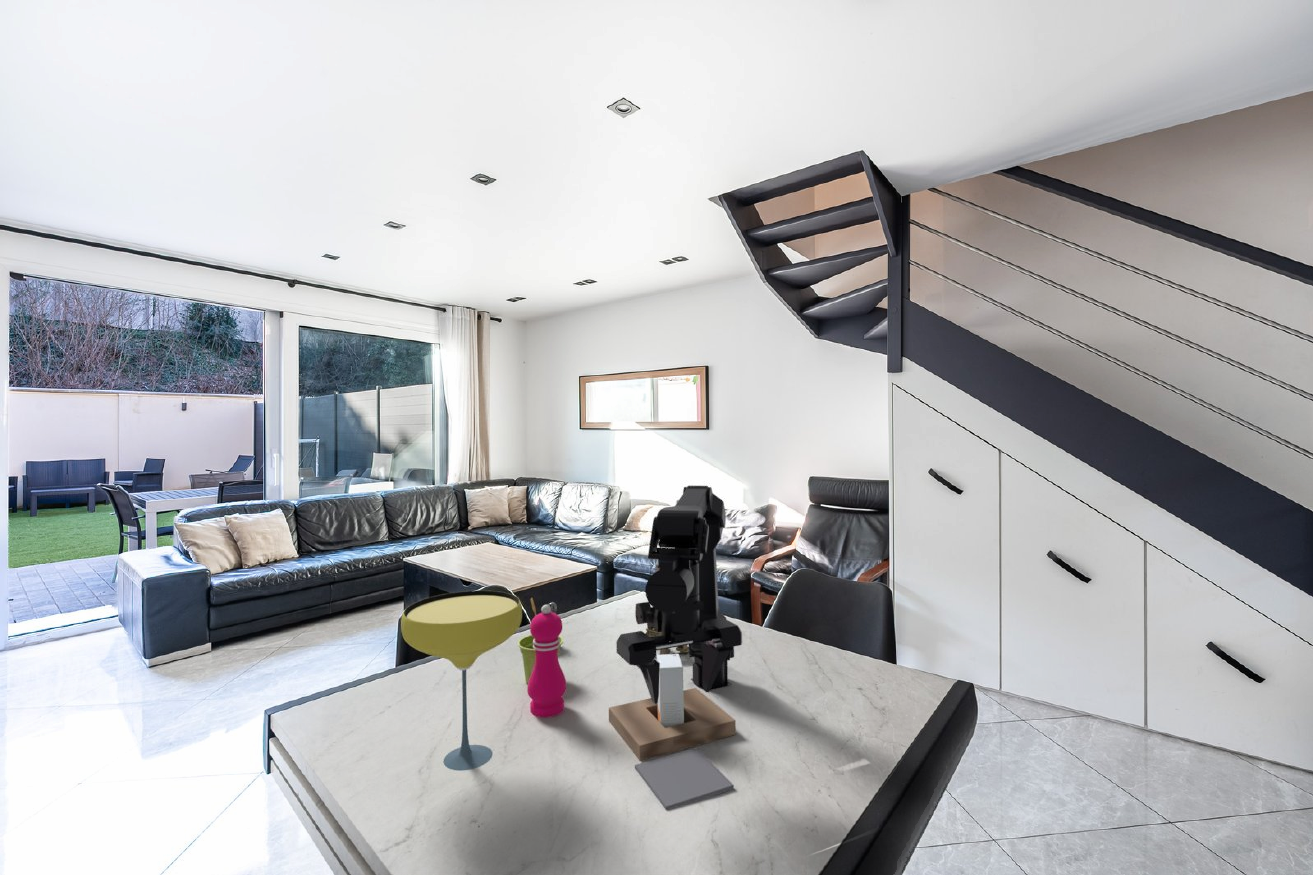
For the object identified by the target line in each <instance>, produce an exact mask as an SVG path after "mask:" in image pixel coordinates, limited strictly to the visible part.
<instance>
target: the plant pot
mask: <svg viewBox="0 0 1313 875" xmlns="http://www.w3.org/2000/svg"><path fill="white" fill-rule="evenodd" d="M558 637H559V638H560V641H559V643H560V646H559V647H558V651H557V654H558V658H559V657H560V651H561V648H562V645H563V643H564V638H563V637H562V636H561V635H559V636H558ZM534 639H535V638H534V637H533V636H532V635H531V634H530V635H527V636H524V637H522V638H520V639H519V640H518V642H517V646H518V647H519V649H520V653H521V655H522V656H521V657H522V661H523V662H522V663H523V668H524V669H523V670H524V677H525V684H527V685H528V682H529V678H530V676H531V674H532V671H533V669H534V666H535V660H536V652H535V649H534V648H533V645H534V643H533V640H534Z"/></svg>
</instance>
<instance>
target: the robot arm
mask: <svg viewBox="0 0 1313 875" xmlns="http://www.w3.org/2000/svg"><path fill="white" fill-rule="evenodd" d="M726 514H727V513H726V508H725V502H724V500H722V499H721V498H720V497H718V496H717V495H716V494H715V493H713V489H712V486H709V485H686V486H684V487H683V490H682V495H681V496H680V498H679V499H678V501H677V502H676V503H675V505H674V506H666V507H663V508H661V509H659V510H658V513H657V514H656V515H657V516H654V517H653V520H652V521H653V522H652V528H651V534H650V540H649V548H648V554H647V559H649V560H658V562H657V564H658V569H657V570H656V569H655V571H654V572H653V573H652V574H651V575H650V576H649V578H648V580H647V581H646V584H645V590H644V593H645V597H646V600H647V601H645V602H638V603H635V611H634V612H635V613H634V615H635V622H636V624H637V625H643V624H646V626H647V627H646V629H647V628H648V629H652V628H654V630H655V631H656V632H661V633H662V636H656V637H649V636H648V635H646V634H645V633H646V632H643V630H638V631H631V632H628V633H620V635H619V637H618V638H617V640H616V642H615V643H616V654H618V655H619V656H620V657H621V658H622V659H623V660H624V661H625V662H626V663H627V664H628V665H629V666H636V667H637V668H638V669H640V671H641V674H642V676H643V678H644V682H645V685H646V687H647V689H648V693H649V696H650V698H651V699H652V701H653V703H654V704H657V703H658V697H659V673H660V663H659V662H658V661H657V659H655V658H657V651H660V650H662V649H673V648H676V647H679V646H684V645H687V646H688V647H689V651H688V653H689V654H688V655H689V658H693V659H694V660H693V662H692V678H690V680H691V681H692V683H693V684H694V685H696V686H697V687H698V688H701V689H702V691H704V692H705V693H709V692H710V691H712V690H717V689H721V688H726V687H730V686H732V683H731V682H729V676H728V674H729V673H728V672H729V670H728V668H729V667H728V661H730V660H731V659H732V658H735V647H738V646H742V644H743V632H742V630H741V627H740V626H739V625H738V624H735V623H734V622H732V621H730V620H728V619H727V617H726V616H725V615H724V614H723V612H722V611H721V609H720V607H719V592H718V591H719V589H718V587H719V586H718V573H717V572H718V570H717V548H716V547H717V546H718V544H719V542H720V541H721V538H722V535H723V530H724V529H725V528H726V523H727V522H726V520H727V519H726Z"/></svg>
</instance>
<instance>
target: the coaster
mask: <svg viewBox="0 0 1313 875" xmlns="http://www.w3.org/2000/svg"><path fill="white" fill-rule="evenodd" d="M634 770H636V772H637V773H638V774H639V776H640V777H641V778H642V780H643V781H644V783H645V784H646V785H647V787H648V788H649V789H650V791H651V792H652V793H653V795H654V796H655V797H656V799H657V800H658V801H659V803H660V804H661V806H662V807H663V808H664V810H665V811H667V810H670V809H673V807H674V808H677V807H680V806H683V805H686V804H687V805H688V804H690V803H694V802H697V801H699V800H700V801H701V800H703V799H706V798H710V797H714V796H717V795H719V794H723V793H725V792H730V791H732V790H735V789H734V784H733V783H732V781H730V780H729V778H728V777H727V776H725V775H724V773H722V772H721V771H720V769H719V768H717V766H715V765H714V763H713V762H712V761H711V760H709V758H708V757H707V756H705V754H703V753H702V751H701V750H700V749H699V748H698V747H694V748H690V749H685V750H683V751H680V752H676V753H671V754H667V755H665V756H662V757H659V758H655V759H651V760H648V761H644V762H640V763H636V764H634ZM676 806H677V807H676Z"/></svg>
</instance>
